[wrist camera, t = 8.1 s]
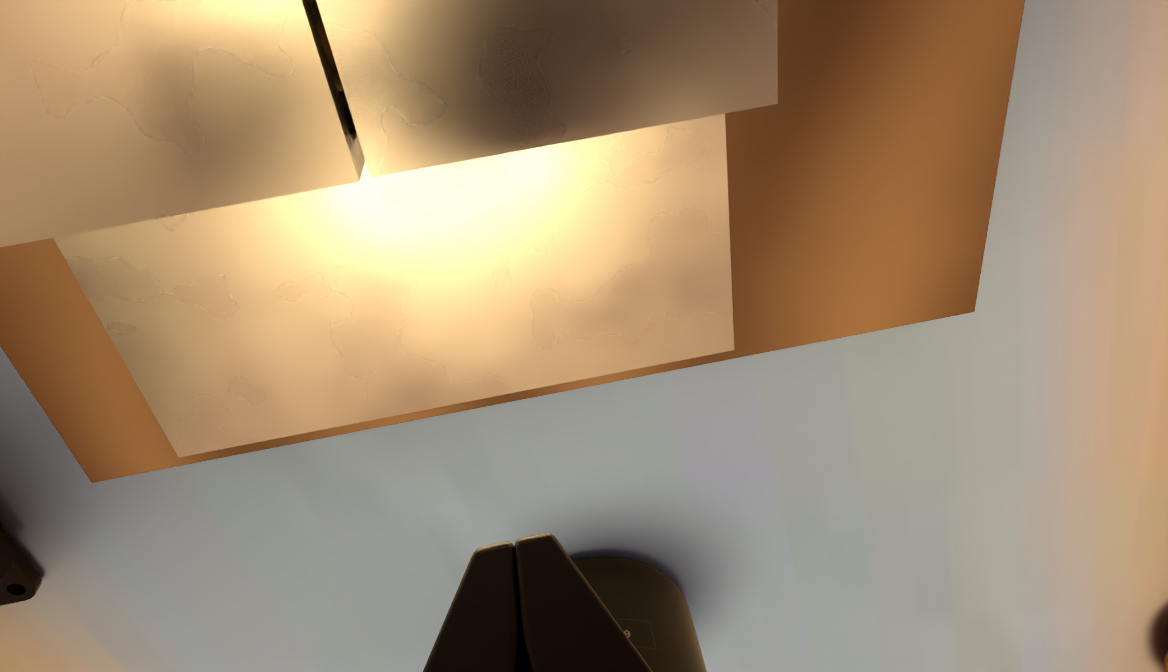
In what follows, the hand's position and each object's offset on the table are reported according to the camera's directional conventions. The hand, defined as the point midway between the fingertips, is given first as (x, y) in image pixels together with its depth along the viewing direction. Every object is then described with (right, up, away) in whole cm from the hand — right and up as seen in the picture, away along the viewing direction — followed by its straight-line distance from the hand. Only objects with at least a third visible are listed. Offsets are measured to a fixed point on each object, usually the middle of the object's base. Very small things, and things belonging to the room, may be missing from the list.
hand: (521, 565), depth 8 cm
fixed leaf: (-3, +6, +9) cm, 11 cm away
